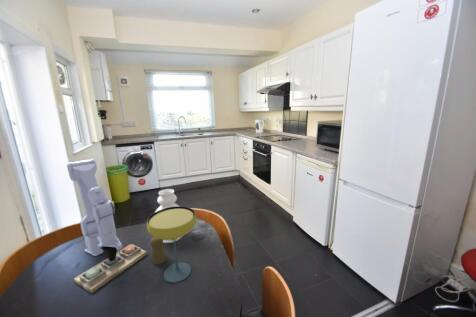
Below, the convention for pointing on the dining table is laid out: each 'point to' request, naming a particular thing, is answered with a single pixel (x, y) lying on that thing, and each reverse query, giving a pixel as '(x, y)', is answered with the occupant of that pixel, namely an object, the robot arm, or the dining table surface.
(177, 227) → the cocktail glass
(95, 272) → the sage button
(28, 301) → the dining table surface
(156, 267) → the dining table surface
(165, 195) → the decorative vase
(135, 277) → the dining table surface
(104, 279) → the button board
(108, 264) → the charcoal button
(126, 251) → the terracotta button
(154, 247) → the cork
